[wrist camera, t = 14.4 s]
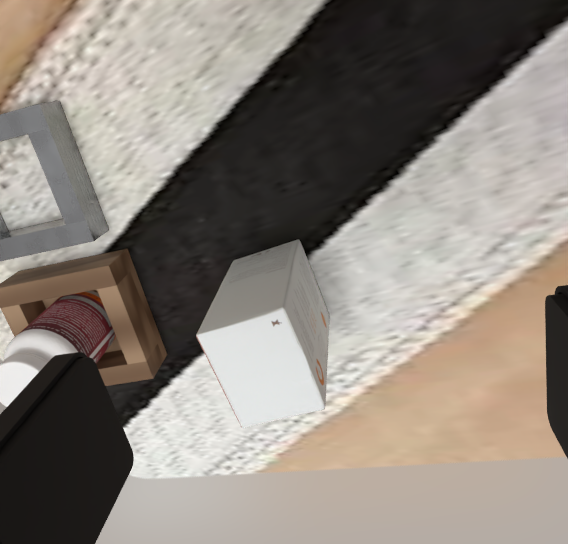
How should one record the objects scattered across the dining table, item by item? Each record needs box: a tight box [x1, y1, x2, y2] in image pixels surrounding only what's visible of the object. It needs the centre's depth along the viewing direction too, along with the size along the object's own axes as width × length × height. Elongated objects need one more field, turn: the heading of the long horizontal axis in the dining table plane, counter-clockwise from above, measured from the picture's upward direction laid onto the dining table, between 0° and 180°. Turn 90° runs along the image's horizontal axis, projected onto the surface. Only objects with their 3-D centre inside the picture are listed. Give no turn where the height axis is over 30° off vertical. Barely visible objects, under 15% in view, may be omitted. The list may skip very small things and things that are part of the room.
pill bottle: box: [0, 291, 116, 407], centre depth 42 cm, size 6×6×11 cm
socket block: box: [0, 101, 109, 261], centre depth 43 cm, size 11×11×3 cm
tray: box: [0, 249, 167, 386], centre depth 46 cm, size 11×11×4 cm
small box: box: [196, 239, 330, 428], centre depth 39 cm, size 8×6×13 cm
